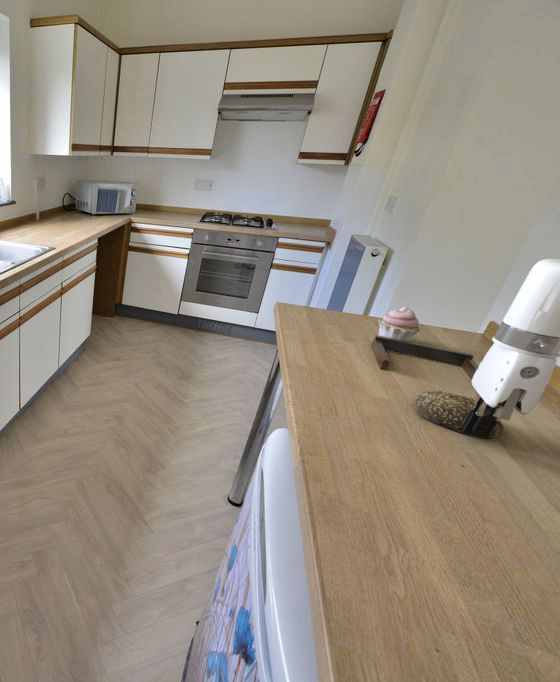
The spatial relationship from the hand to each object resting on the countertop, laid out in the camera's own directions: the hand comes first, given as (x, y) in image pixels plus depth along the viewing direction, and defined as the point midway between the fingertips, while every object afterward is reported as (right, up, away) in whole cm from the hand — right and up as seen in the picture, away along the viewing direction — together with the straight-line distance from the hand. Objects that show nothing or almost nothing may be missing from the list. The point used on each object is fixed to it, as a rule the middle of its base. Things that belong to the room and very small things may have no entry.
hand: (473, 433), depth 72 cm
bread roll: (+4, +1, +7) cm, 8 cm away
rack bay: (+16, +10, +27) cm, 33 cm away
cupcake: (+21, +16, +41) cm, 49 cm away
